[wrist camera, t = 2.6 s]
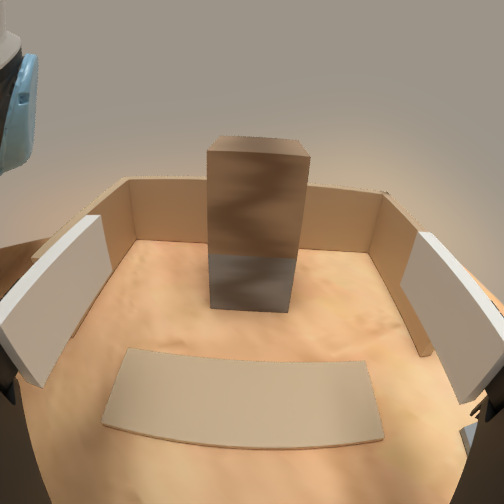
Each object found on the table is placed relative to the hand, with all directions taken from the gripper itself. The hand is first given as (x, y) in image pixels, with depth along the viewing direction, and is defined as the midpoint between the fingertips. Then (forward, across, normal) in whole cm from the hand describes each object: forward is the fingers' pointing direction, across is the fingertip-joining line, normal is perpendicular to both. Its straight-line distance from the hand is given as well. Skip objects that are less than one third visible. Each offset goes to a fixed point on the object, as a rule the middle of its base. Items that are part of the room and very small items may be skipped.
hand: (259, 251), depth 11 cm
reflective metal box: (+10, 0, -10) cm, 14 cm away
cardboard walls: (+7, 0, -10) cm, 12 cm away
